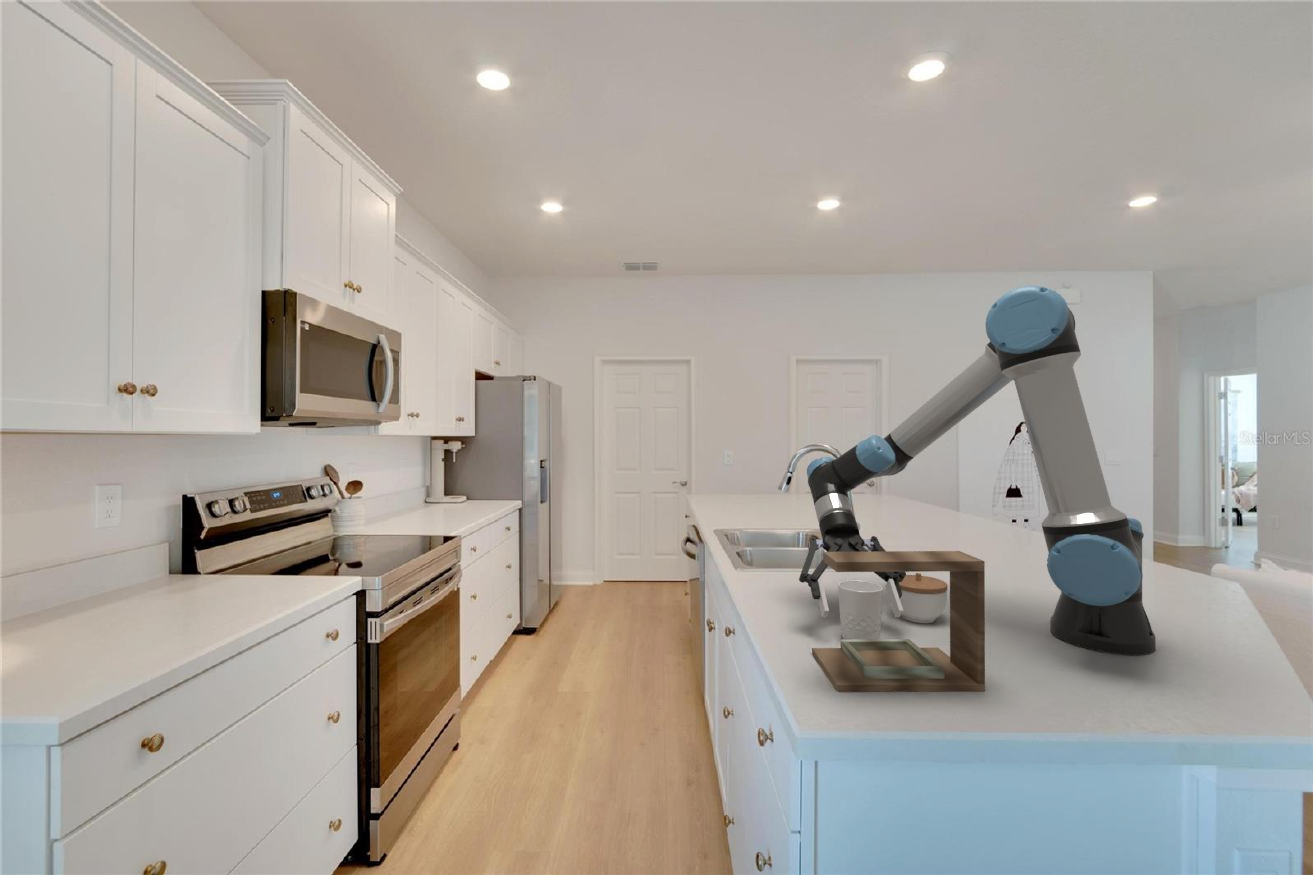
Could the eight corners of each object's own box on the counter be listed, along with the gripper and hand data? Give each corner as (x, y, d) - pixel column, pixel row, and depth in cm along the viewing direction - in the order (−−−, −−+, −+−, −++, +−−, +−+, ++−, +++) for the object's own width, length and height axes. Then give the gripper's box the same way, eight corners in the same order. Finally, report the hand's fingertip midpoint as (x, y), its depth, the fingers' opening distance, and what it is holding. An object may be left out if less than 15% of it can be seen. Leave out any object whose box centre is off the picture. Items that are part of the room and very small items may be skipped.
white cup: (884, 634, 105) (883, 582, 105) (882, 649, 98) (881, 593, 98) (840, 628, 108) (840, 578, 108) (836, 642, 101) (835, 588, 101)
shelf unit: (937, 653, 96) (937, 542, 96) (984, 691, 82) (984, 561, 82) (812, 653, 96) (811, 543, 96) (837, 691, 82) (836, 562, 82)
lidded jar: (949, 615, 115) (949, 571, 115) (945, 631, 106) (945, 583, 106) (895, 607, 121) (894, 564, 121) (886, 621, 112) (886, 575, 112)
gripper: (890, 530, 119) (923, 623, 104) (775, 530, 119) (791, 623, 104) (900, 509, 113) (937, 604, 98) (780, 510, 114) (798, 604, 99)
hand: (862, 614), depth 101 cm, fingers open, 13 cm apart
